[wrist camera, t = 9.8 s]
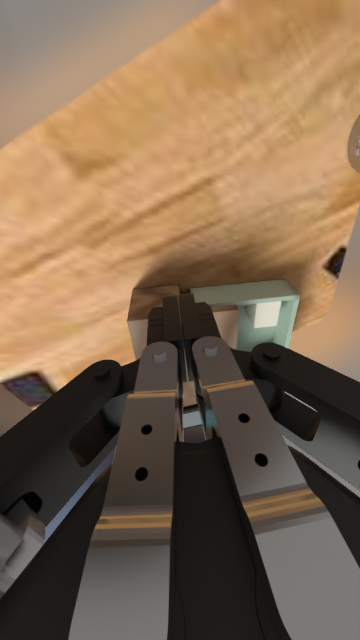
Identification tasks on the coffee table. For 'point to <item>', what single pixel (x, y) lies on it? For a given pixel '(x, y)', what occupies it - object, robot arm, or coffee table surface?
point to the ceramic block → (263, 314)
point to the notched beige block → (153, 297)
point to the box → (253, 295)
